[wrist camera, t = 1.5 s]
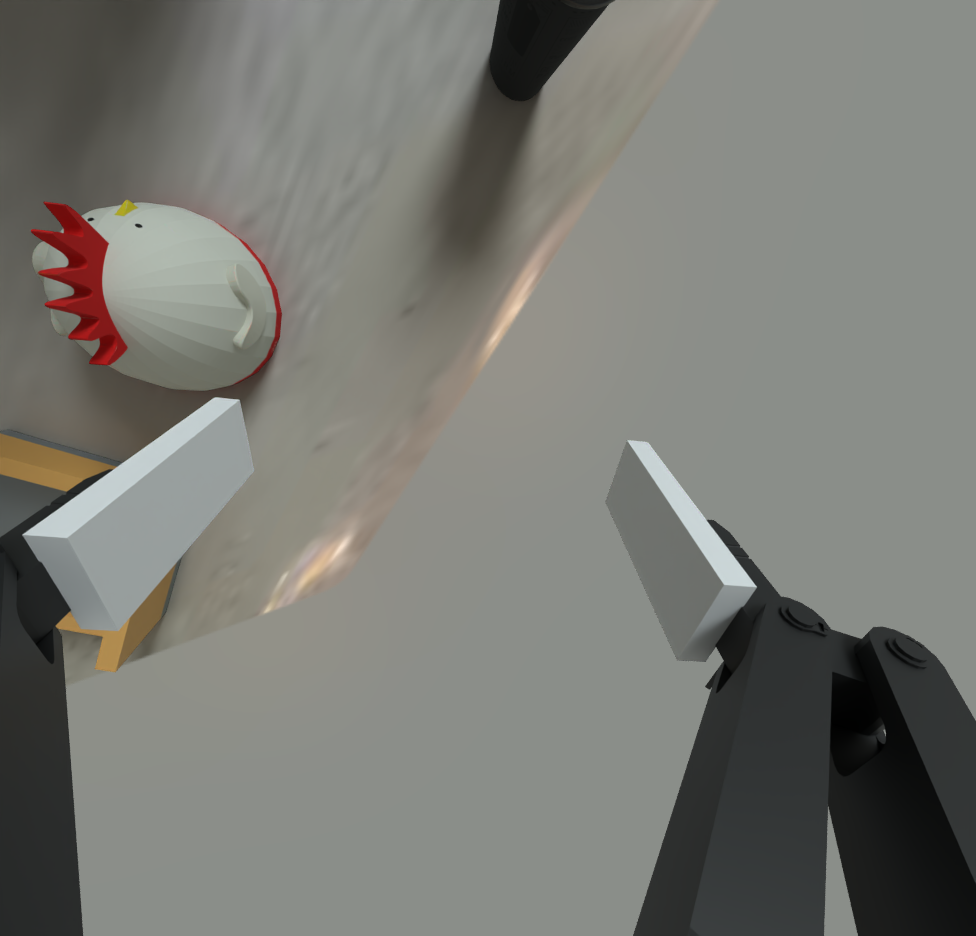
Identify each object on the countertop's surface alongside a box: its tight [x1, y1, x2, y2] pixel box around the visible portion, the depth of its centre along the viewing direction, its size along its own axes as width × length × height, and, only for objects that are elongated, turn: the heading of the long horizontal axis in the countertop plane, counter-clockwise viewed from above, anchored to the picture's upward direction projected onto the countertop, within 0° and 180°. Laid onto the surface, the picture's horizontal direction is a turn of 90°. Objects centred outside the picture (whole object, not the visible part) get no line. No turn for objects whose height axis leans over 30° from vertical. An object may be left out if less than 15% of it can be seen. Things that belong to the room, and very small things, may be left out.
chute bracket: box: [0, 430, 181, 672], centre depth 35 cm, size 15×15×8 cm
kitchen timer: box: [31, 200, 282, 391], centre depth 28 cm, size 14×14×15 cm
